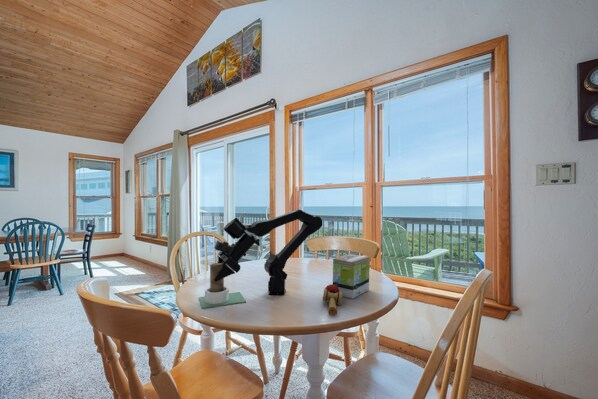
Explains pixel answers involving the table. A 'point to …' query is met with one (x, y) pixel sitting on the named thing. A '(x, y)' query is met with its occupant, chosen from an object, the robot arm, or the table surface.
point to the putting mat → (220, 298)
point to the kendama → (332, 298)
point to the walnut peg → (214, 270)
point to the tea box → (351, 275)
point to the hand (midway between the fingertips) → (213, 277)
